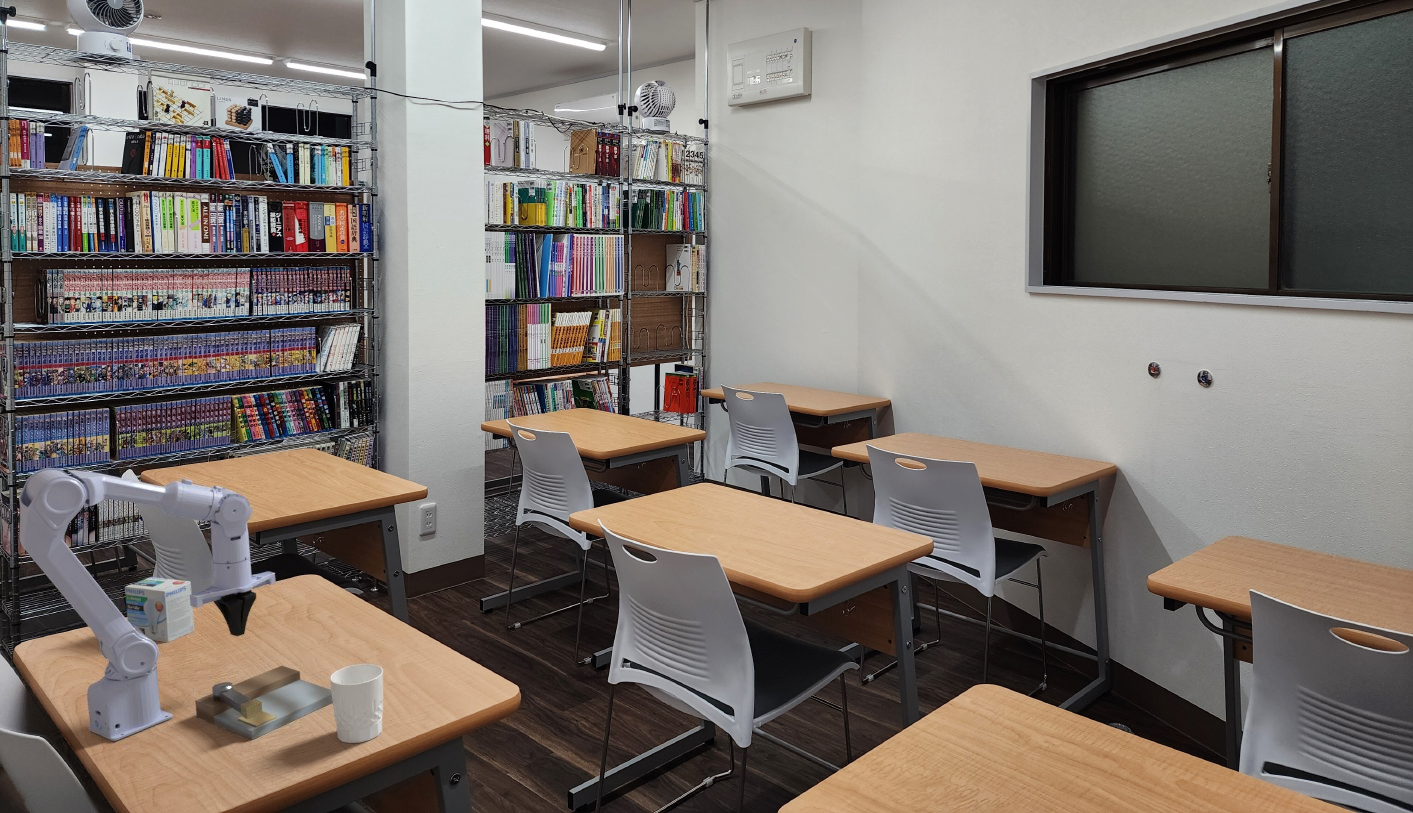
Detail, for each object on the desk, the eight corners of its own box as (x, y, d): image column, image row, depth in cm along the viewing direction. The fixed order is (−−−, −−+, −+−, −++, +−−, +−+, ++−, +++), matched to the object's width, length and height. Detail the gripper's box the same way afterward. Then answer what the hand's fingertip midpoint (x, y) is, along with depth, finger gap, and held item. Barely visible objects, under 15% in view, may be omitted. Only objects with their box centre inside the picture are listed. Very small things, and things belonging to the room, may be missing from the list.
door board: (252, 739, 146) (251, 721, 146) (196, 717, 154) (195, 699, 154) (338, 700, 160) (337, 683, 160) (283, 681, 168) (281, 665, 167)
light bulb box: (127, 637, 189) (122, 586, 187) (155, 625, 195) (151, 576, 194) (169, 643, 186) (164, 591, 184) (196, 630, 192) (192, 580, 191)
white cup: (334, 726, 151) (330, 667, 149) (385, 718, 153) (382, 660, 152) (333, 749, 143) (329, 688, 142) (387, 740, 146) (383, 680, 145)
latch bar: (210, 696, 154) (209, 685, 154) (228, 690, 157) (227, 679, 156) (245, 720, 146) (244, 708, 146) (264, 713, 148) (263, 701, 148)
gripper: (204, 574, 152) (211, 653, 154) (283, 551, 165) (288, 624, 167) (180, 567, 156) (186, 644, 158) (259, 546, 168) (264, 617, 170)
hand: (237, 634), depth 163 cm, fingers closed
